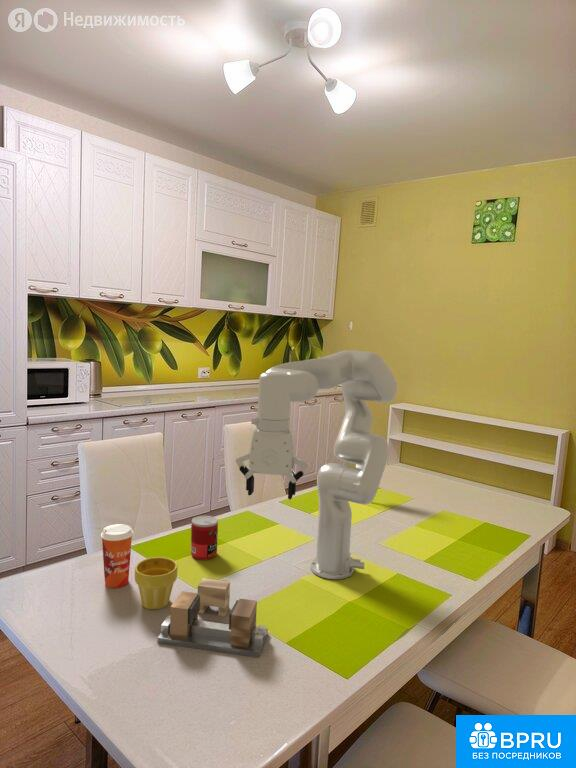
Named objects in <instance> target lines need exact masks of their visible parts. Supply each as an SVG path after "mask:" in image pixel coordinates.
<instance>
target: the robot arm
mask: <svg viewBox="0 0 576 768" xmlns="http://www.w3.org/2000/svg"><path fill="white" fill-rule="evenodd" d="M258 380H259V381H258V398H257V399H258V401H257V417H255V418H251V421H250V422H251V425H255V426H256V428H255V429H253V432H252V437H251V442H250V450H249V452H248V453H245V454H242V455H241V456H238V457H237V458H236V459H235V463H236V465H237V467H238V469H239V471H240V472H241V474H242V475H243V476H244V478H245V479H246V480H245V481H246V482H245V485H246V486H245V490H246V491H247V495H248V496H252V494H253V493H254V491H255V476H254V474H261V475H271V476H272V475H274V476H286V477H287V478H288V479H289V483H288V489H287V490H288V493H287V499H288V500H292V498H293V496H295V495H296V492H297V491H296V489H297V481H298V480H300V479H301V478H302V477H303V476H304V475H305V472H306V471H307V469H308V467H309V463H308V462H307V461H304V460H302V459H301V458H299V457H297V456H296V455H294V454H295V453H294V449H295V448H294V437H293V431H292V430H290V422H291V421H290V417H291V403H292V402H295V403H305V402H309V401H311V400H313V399H314V398H315V397H316V396H317V394H318V391H319V390H329V389H333V388H335V387H337V386H339V385H340V390H341V393H342V397H343V400H344V401H343V402H344V406H345V407H344V408H345V412H344V418H343V420H342V423H341V426H340V428H339V431H338V434H337V437H336V439H335V442H334V446H333V455H334V456H335V458H336V459H338V460H340V461H343V462H346V463H350V464H354V465H356V464H357V465H362V466H363V469H360V468H356V466H355V467H354V466H351V465H347V464H341V463H337V462H329V463H325V464H323V465H322V466H321V467H320V468H319V470H317V471H318V472H317V475H316V486H317V493H318V521H317V536H316V537H317V539H316V540H317V541H316V557H315V559H313V560H312V561H311V562H310V570H311V572H313V574H315V575H316V576H318V577H320V578H324V579H327V580H343V579H347V578H349V577H351V576H352V575H353V574H354V571H355V569H359V570H365V562H364V561H361V558H354V557H353V556H352V557H351V554H352V553H351V551H350V549H351V534H352V533H351V532H352V531H351V530H352V508H351V505H350V502H351V503H355V504H358V505H368V504H369V505H370V504H371V503H372V502H373V501H374V499H375V497H376V495H377V493H378V489H379V487H380V483H381V480H382V477H383V474H384V471H385V468H386V465H387V461H388V459H389V451H390V450H389V443H388V440H387V439H386V438H385V437H384V436H382V435H380V434H375V433H370V432H371V428H372V425H373V421H374V418H373V414H372V411H371V409H370V407H369V405H368V402H375V403H384V404H385V403H389V402H392V401H393V400H394V399H395V398H396V395H397V392H398V383H397V380H396V377H395V375H394V374H393V372H392V371H391V369H390V368H389V366H388V365H387V362H385V360H384V359H383V358H382V357H381V356H380V355H379V354H377V353H376V352H373V351H363V350H362V351H361V350H354V349H353V350H350V349H349V350H347V349H346V350H340V351H338V352H336V353H332V354H329V355H326V356H323V357H318V358H310V359H304V360H297V361H290V362H289V361H288V362H285V363H281V364H278V365H276V366H275V365H274V366H272V367H270V368H269V369H268V370H266V371H265V372H263V373H261V374H260V376H259V377H258ZM245 461H248V467H247V465H245ZM295 464H296V465H297V466H298V467H300V469H299V471H297V472H295V471H294V470H293V469H294V465H295Z"/></svg>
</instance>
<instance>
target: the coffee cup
mask: <svg viewBox="0 0 576 768" xmlns="http://www.w3.org/2000/svg"><path fill="white" fill-rule="evenodd" d="M134 533H135V532H134V531H133V528H131V526H130V525H128V524H123V523H117V524H116V523H115V524H111V525H108V526H104V528H103V529H102V532H101V534H100V538H101V541H102V543H101V544H102V560H103V561H102V562H103V575H104V584H105V586H106V588H109V589H119V588H123V587H124V586H125V587H126V586H127V585H128V584H129V577H130V568H131V567H130V565H131V551H132V550H131V549H132V540H133V539H132V538H133V535H134Z"/></svg>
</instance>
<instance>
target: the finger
mask: <svg viewBox="0 0 576 768" xmlns="http://www.w3.org/2000/svg"><path fill="white" fill-rule="evenodd" d="M257 604H258V601H257V600H253V599H247V598H239V599H236V600H235V603H234V604H233V607H232V608H231V610H230V612H229V614H228V615H229V616H228V618H229V619H228V620H229V621H228V623H229V630H231V645H234V646H240V647H247V648H248V647H249V645H250V634H251V632H252V629H253V628H256V627H257V607H258V606H257Z"/></svg>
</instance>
